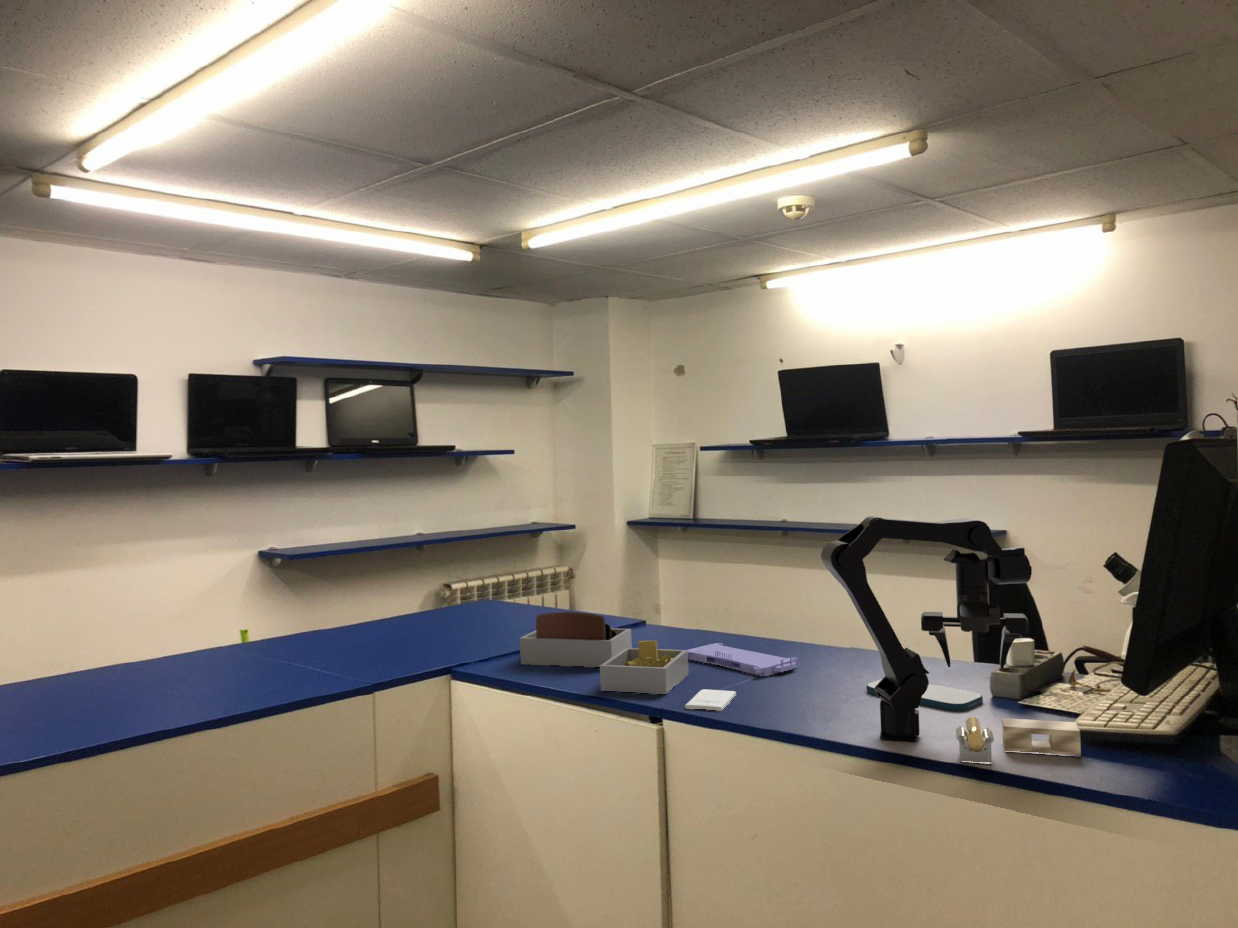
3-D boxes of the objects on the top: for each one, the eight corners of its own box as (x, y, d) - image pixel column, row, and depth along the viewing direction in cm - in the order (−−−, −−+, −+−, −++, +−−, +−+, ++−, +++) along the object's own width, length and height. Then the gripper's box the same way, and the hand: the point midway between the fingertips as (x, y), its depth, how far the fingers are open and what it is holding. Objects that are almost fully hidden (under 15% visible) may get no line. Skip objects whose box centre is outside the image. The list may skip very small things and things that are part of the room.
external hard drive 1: (736, 698, 200) (722, 714, 188) (701, 696, 203) (685, 711, 191) (736, 691, 200) (721, 706, 188) (700, 689, 203) (684, 703, 191)
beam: (1004, 752, 157) (1003, 726, 157) (1002, 743, 161) (1001, 718, 161) (1080, 757, 153) (1080, 731, 153) (1076, 748, 157) (1075, 722, 157)
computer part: (764, 681, 212) (805, 670, 222) (764, 664, 212) (804, 653, 222) (678, 662, 236) (718, 652, 245) (678, 646, 236) (717, 636, 245)
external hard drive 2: (860, 694, 198) (860, 685, 198) (890, 684, 206) (890, 675, 206) (960, 715, 180) (960, 706, 180) (988, 703, 188) (988, 694, 188)
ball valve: (622, 685, 216) (639, 688, 207) (620, 642, 217) (638, 643, 208) (669, 681, 221) (688, 684, 212) (667, 639, 223) (685, 640, 214)
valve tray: (600, 691, 208) (599, 665, 208) (627, 671, 226) (626, 648, 226) (666, 695, 202) (665, 668, 202) (688, 674, 220) (687, 650, 220)
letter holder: (606, 668, 231) (603, 613, 231) (536, 664, 238) (534, 612, 238) (618, 659, 241) (616, 607, 241) (551, 656, 247) (549, 605, 247)
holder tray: (520, 664, 238) (519, 638, 238) (545, 650, 254) (544, 626, 253) (612, 668, 230) (611, 641, 230) (632, 654, 245) (631, 629, 245)
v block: (994, 765, 151) (993, 736, 151) (957, 762, 153) (956, 734, 153) (992, 755, 156) (992, 727, 155) (956, 753, 158) (955, 725, 157)
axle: (967, 750, 149) (969, 736, 149) (964, 728, 160) (966, 715, 160) (982, 753, 148) (984, 739, 148) (979, 731, 160) (981, 718, 159)
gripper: (919, 591, 164) (922, 676, 164) (1030, 593, 158) (1033, 681, 158) (920, 582, 175) (923, 662, 175) (1024, 583, 168) (1027, 666, 168)
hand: (975, 667), depth 169 cm, fingers open, 9 cm apart
